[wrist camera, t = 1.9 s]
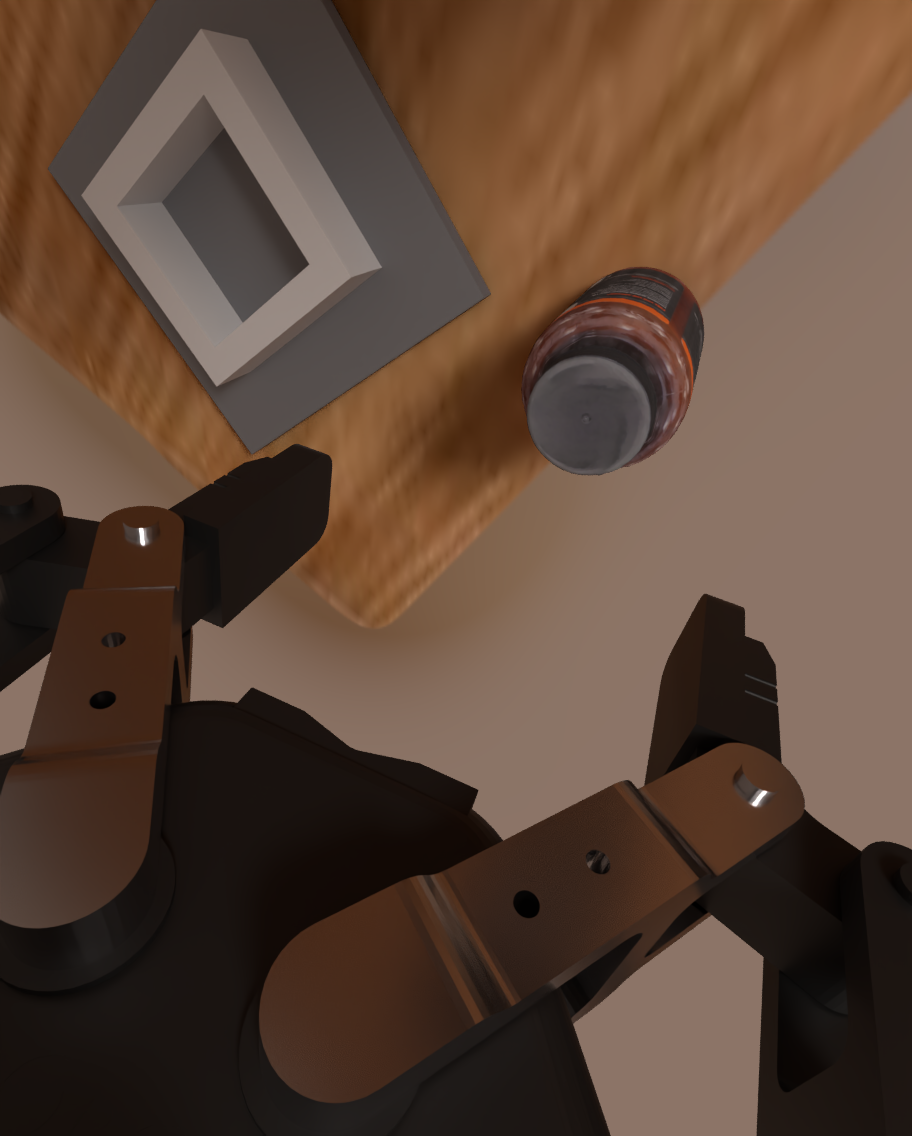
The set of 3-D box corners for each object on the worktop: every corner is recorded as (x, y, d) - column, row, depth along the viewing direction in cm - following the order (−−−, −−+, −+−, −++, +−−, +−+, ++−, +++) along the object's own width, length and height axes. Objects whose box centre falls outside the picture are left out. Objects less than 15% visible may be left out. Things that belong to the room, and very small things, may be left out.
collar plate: (261, -129, 25) (192, -169, 22) (491, 293, 30) (461, 310, 27) (63, 168, 35) (-4, 169, 32) (261, 448, 40) (220, 473, 37)
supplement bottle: (556, 288, 29) (472, 347, 20) (693, 244, 26) (665, 290, 18) (586, 413, 32) (524, 514, 23) (715, 384, 29) (700, 487, 20)
